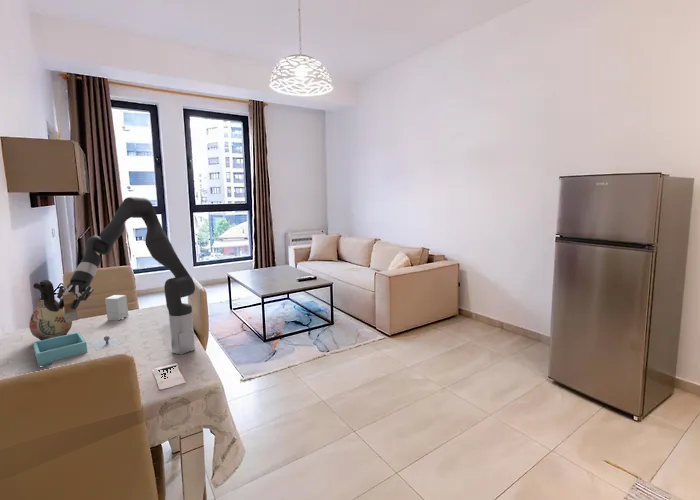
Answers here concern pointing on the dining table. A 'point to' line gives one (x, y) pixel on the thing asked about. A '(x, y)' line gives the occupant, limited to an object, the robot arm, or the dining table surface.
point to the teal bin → (62, 352)
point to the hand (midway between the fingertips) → (66, 308)
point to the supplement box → (116, 307)
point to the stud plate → (107, 343)
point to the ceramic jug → (48, 315)
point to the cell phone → (166, 368)
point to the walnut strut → (69, 307)
